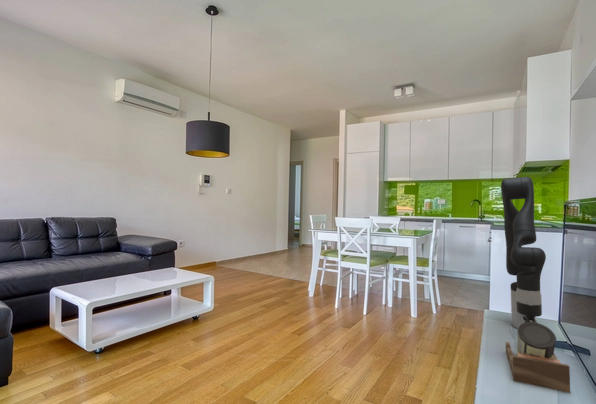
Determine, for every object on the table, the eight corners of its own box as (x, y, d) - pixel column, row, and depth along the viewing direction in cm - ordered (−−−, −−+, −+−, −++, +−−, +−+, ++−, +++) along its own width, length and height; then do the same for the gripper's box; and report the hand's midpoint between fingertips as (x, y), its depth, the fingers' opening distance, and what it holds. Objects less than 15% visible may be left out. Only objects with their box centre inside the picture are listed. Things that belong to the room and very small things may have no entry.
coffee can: (541, 347, 113) (545, 320, 107) (558, 374, 104) (563, 346, 98) (510, 349, 116) (512, 322, 109) (524, 375, 106) (526, 348, 100)
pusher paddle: (518, 376, 105) (517, 352, 105) (559, 384, 99) (559, 360, 100) (519, 379, 103) (518, 355, 103) (561, 388, 97) (561, 363, 97)
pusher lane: (505, 352, 122) (505, 331, 122) (552, 359, 115) (551, 338, 115) (513, 381, 102) (513, 356, 102) (570, 392, 95) (569, 366, 95)
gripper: (513, 294, 122) (515, 338, 122) (519, 304, 111) (520, 353, 111) (537, 297, 119) (538, 341, 119) (545, 307, 107) (546, 357, 107)
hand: (529, 347), depth 115 cm, fingers closed
